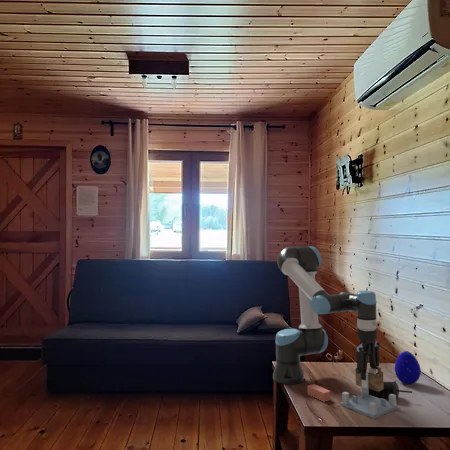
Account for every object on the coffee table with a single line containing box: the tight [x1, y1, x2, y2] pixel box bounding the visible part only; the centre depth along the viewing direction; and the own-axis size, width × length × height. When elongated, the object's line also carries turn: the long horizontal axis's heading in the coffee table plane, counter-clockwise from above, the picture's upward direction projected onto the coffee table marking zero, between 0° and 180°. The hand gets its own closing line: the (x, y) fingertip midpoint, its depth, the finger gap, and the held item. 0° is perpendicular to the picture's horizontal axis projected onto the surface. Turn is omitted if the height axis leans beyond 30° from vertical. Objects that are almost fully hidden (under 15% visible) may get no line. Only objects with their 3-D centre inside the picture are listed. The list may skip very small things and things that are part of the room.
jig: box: [340, 386, 399, 420], centre depth 168 cm, size 16×16×5 cm
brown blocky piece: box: [355, 366, 384, 392], centre depth 168 cm, size 10×4×9 cm, turn 41°
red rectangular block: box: [306, 383, 331, 403], centre depth 178 cm, size 10×4×4 cm, turn 31°
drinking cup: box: [369, 381, 413, 401], centre depth 176 cm, size 8×8×20 cm
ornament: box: [394, 350, 422, 385], centre depth 192 cm, size 11×9×15 cm
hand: (368, 385), depth 168 cm, fingers closed on brown blocky piece, 4 cm apart
